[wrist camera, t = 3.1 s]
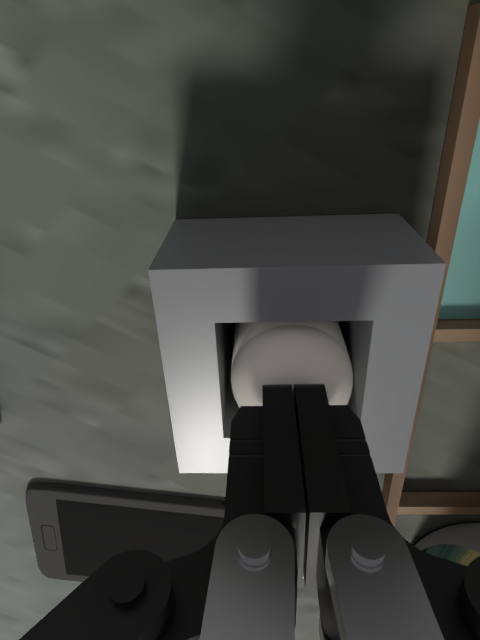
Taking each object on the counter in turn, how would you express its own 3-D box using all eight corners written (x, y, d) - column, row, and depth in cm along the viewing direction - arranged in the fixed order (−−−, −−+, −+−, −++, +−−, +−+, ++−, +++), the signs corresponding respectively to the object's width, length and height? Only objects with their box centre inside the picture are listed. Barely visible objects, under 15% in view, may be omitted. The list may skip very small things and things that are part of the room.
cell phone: (27, 473, 21) (20, 486, 20) (320, 505, 21) (321, 519, 21) (44, 564, 25) (38, 578, 24) (293, 590, 25) (294, 604, 24)
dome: (339, 276, 14) (371, 361, 10) (332, 363, 16) (358, 466, 12) (233, 278, 14) (223, 362, 10) (237, 364, 16) (230, 465, 12)
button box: (399, 213, 14) (446, 263, 10) (374, 391, 17) (403, 473, 14) (175, 219, 14) (148, 270, 11) (195, 392, 18) (179, 473, 14)
